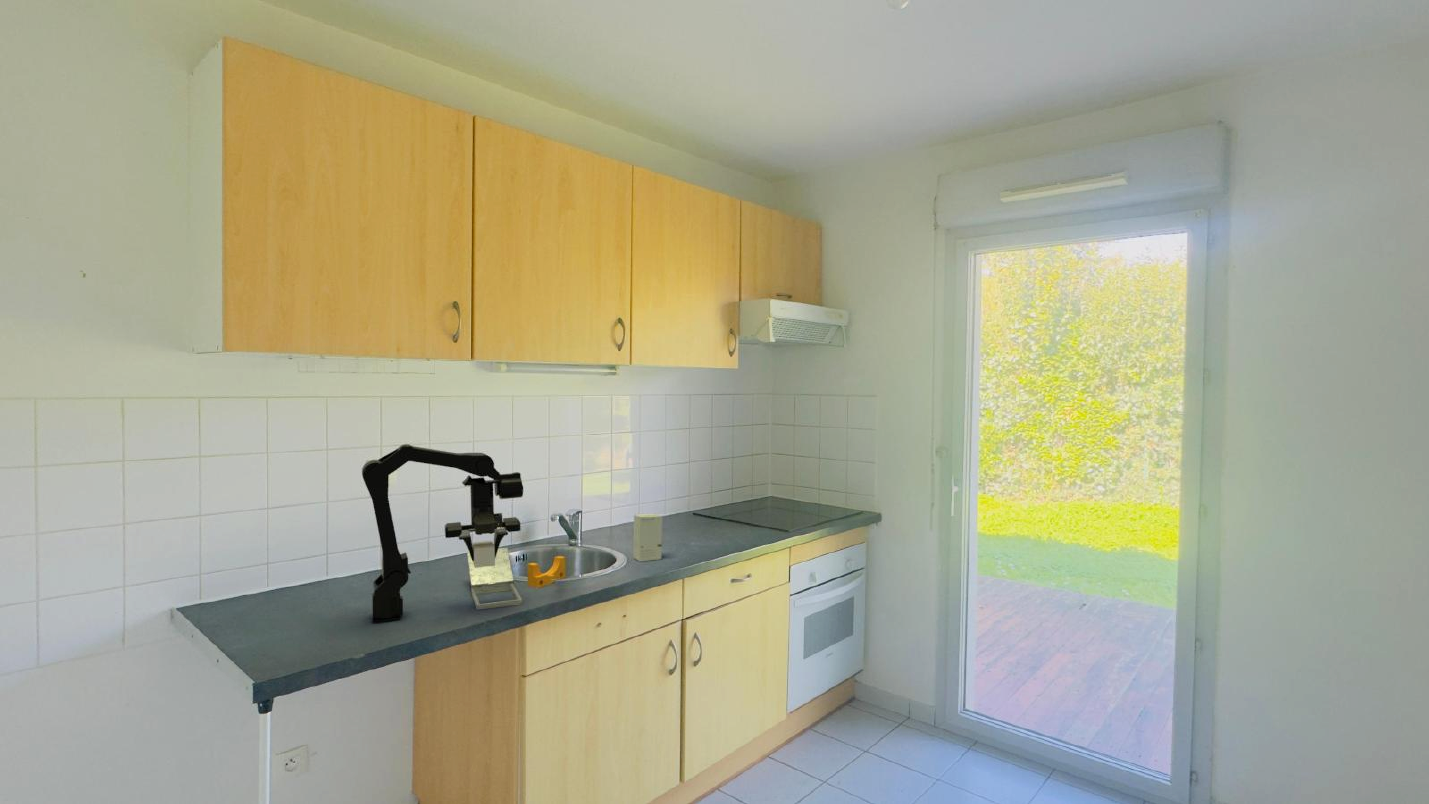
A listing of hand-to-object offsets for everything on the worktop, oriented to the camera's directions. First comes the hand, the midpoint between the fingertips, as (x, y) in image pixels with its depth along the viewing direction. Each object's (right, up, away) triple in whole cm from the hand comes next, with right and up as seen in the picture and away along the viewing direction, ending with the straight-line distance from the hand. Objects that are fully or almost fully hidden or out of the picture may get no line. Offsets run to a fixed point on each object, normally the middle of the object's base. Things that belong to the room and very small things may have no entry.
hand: (483, 559), depth 187 cm
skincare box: (+39, -11, +49) cm, 64 cm away
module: (0, -1, 0) cm, 1 cm away
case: (-1, -12, +11) cm, 16 cm away
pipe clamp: (+12, -12, +22) cm, 28 cm away
